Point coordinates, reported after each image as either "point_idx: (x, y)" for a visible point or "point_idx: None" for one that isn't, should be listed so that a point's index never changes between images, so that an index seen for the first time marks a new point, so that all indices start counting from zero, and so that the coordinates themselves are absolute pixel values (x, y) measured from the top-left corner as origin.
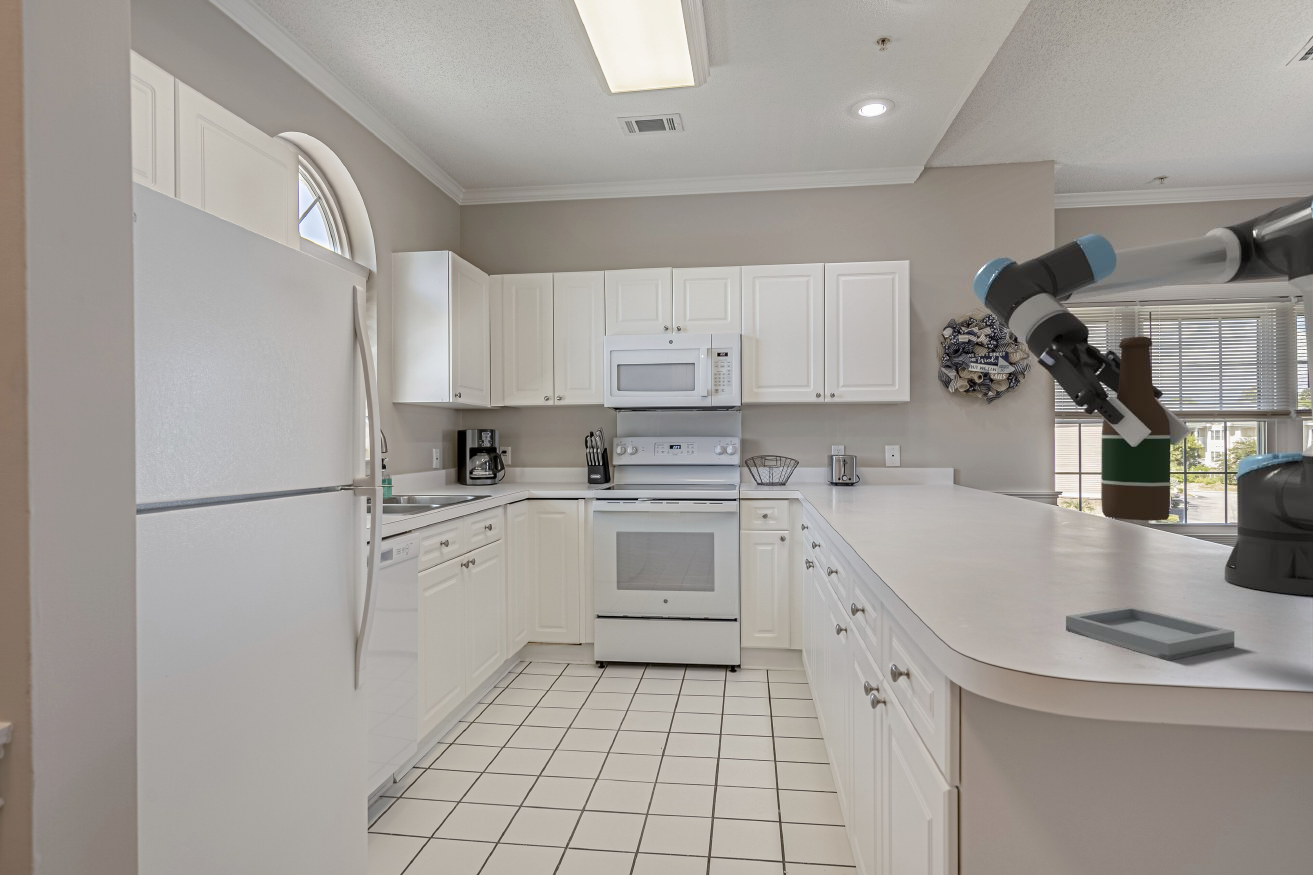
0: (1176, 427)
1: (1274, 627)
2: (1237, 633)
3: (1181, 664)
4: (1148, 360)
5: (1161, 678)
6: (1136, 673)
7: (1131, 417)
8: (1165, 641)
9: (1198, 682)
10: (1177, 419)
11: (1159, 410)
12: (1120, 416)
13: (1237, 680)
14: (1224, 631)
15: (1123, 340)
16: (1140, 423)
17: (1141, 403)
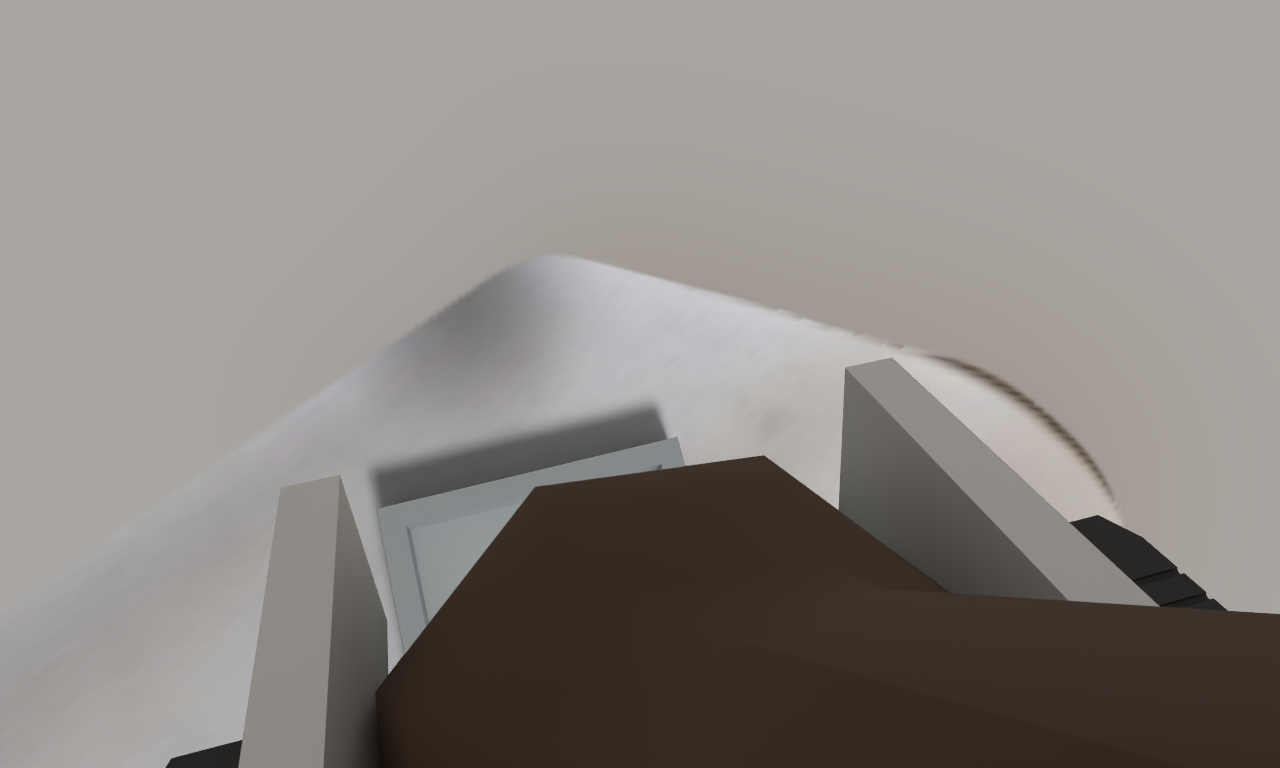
0: (350, 587)
1: (21, 676)
2: (229, 632)
3: (661, 417)
4: (1014, 670)
5: (786, 347)
6: (817, 383)
7: (998, 465)
8: (668, 455)
9: (725, 314)
10: (309, 592)
11: (642, 495)
12: (1082, 523)
13: (627, 308)
14: (411, 509)
15: None
16: (928, 410)
17: (859, 553)
